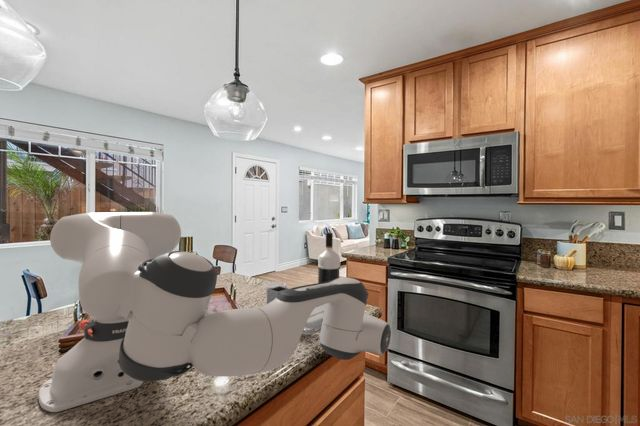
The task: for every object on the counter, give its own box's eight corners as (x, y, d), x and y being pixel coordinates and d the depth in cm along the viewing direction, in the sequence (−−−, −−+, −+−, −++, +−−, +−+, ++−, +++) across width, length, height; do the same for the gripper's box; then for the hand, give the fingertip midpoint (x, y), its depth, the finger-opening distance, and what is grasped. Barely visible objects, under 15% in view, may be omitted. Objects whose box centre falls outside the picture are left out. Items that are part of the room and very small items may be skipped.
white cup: (285, 314, 113) (285, 287, 112) (264, 313, 113) (264, 287, 112) (287, 306, 121) (287, 281, 120) (267, 306, 121) (267, 281, 120)
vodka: (324, 317, 109) (325, 234, 108) (311, 309, 117) (312, 232, 116) (345, 313, 114) (346, 233, 113) (332, 305, 122) (332, 231, 121)
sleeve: (277, 327, 98) (277, 294, 97) (262, 321, 103) (262, 289, 102) (294, 321, 103) (294, 289, 103) (280, 315, 108) (280, 284, 108)
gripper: (311, 345, 78) (276, 329, 87) (358, 322, 93) (324, 311, 102) (311, 321, 78) (276, 307, 87) (358, 302, 93) (324, 292, 102)
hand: (303, 309), depth 95 cm, fingers open, 8 cm apart
